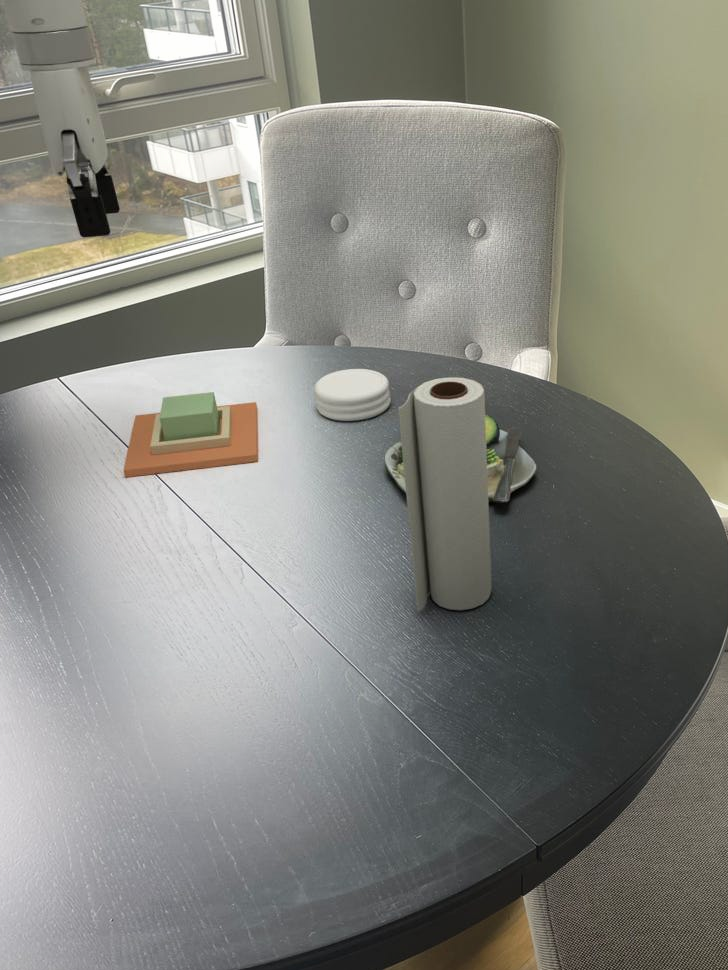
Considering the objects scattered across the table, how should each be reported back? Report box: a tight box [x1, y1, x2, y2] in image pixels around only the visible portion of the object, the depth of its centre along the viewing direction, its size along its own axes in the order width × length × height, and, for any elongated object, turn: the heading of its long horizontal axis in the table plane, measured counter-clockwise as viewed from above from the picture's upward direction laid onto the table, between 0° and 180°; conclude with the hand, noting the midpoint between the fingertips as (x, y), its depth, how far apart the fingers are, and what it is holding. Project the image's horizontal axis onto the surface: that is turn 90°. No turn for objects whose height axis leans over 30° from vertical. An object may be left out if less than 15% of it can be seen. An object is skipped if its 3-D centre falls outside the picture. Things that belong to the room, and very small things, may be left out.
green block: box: [159, 391, 220, 441], centre depth 123 cm, size 6×6×4 cm
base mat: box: [122, 401, 259, 478], centre depth 124 cm, size 16×16×2 cm
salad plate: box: [383, 413, 537, 504], centre depth 113 cm, size 19×18×5 cm
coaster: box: [313, 368, 391, 422], centre depth 130 cm, size 10×10×4 cm
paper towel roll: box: [397, 376, 493, 613], centre depth 89 cm, size 7×6×21 cm
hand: (101, 224), depth 110 cm, fingers open, 9 cm apart
